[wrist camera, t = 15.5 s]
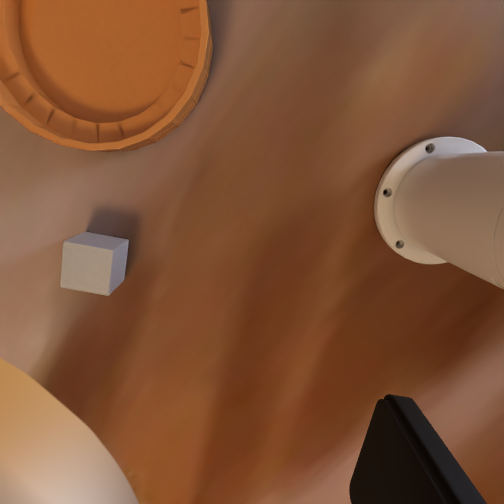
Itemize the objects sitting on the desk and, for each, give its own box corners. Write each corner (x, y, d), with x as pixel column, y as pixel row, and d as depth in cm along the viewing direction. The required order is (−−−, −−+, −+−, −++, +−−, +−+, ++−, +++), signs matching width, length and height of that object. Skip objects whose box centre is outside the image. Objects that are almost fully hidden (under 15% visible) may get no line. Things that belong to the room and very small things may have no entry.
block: (129, 239, 36) (113, 250, 32) (124, 280, 37) (108, 296, 33) (84, 231, 36) (62, 240, 32) (81, 272, 37) (59, 287, 33)
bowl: (230, -58, 30) (227, -95, 26) (194, 169, 35) (187, 170, 30) (-2, -116, 29) (-46, -165, 24) (-7, 128, 33) (-45, 123, 29)
